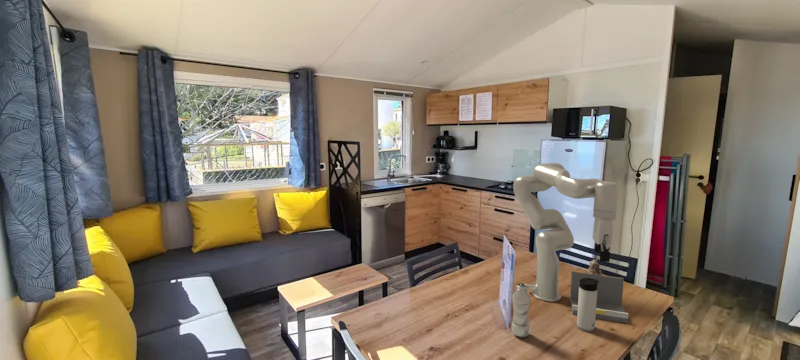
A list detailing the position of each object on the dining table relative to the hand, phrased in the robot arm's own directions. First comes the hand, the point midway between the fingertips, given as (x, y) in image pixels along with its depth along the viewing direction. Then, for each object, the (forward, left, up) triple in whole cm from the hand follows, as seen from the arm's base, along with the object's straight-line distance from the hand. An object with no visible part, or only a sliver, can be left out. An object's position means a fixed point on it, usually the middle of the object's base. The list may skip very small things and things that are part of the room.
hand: (601, 257), depth 134 cm
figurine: (+5, +46, -29) cm, 54 cm away
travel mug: (-4, -3, -29) cm, 29 cm away
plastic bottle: (-28, -17, -29) cm, 44 cm away
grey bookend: (+2, +13, -29) cm, 31 cm away
